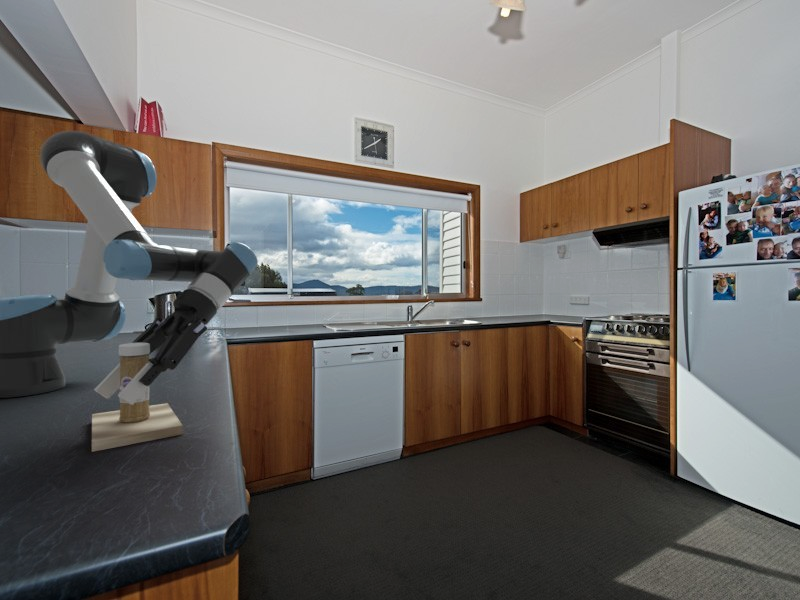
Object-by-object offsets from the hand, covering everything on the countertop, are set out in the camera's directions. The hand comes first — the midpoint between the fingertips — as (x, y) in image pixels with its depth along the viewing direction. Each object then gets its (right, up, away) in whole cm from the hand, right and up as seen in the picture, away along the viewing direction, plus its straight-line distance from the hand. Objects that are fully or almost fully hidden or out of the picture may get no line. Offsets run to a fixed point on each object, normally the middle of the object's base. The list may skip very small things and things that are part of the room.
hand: (112, 397), depth 65 cm
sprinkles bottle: (+1, -5, +3) cm, 6 cm away
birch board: (+2, -6, +3) cm, 7 cm away
